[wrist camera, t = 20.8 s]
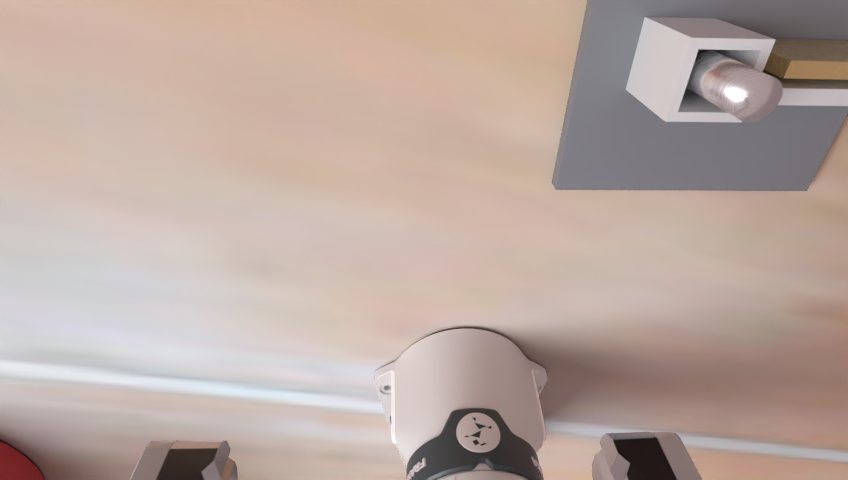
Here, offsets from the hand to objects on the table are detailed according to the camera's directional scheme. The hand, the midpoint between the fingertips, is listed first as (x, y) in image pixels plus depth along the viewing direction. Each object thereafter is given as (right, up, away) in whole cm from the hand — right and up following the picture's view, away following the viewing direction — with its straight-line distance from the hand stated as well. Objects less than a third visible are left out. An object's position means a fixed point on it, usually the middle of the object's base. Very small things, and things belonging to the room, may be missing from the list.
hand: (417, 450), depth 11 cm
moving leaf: (+26, +18, +22) cm, 39 cm away
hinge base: (+22, +18, +24) cm, 37 cm away
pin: (+17, +17, +23) cm, 33 cm away
